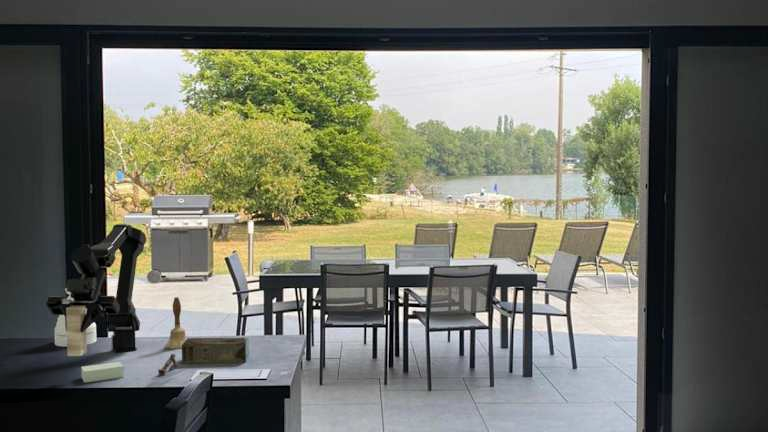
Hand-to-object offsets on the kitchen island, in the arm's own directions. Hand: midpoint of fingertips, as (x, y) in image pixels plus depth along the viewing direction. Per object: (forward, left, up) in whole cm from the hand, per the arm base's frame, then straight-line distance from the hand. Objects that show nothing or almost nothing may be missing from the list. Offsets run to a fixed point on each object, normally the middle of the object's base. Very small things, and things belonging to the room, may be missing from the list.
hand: (74, 331), depth 188 cm
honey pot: (-6, -49, -14) cm, 52 cm away
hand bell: (-34, -25, -14) cm, 44 cm away
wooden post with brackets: (-24, +4, -14) cm, 28 cm away
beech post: (-1, -1, -7) cm, 7 cm away
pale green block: (-7, +1, -13) cm, 15 cm away
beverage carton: (-39, -1, -14) cm, 42 cm away
